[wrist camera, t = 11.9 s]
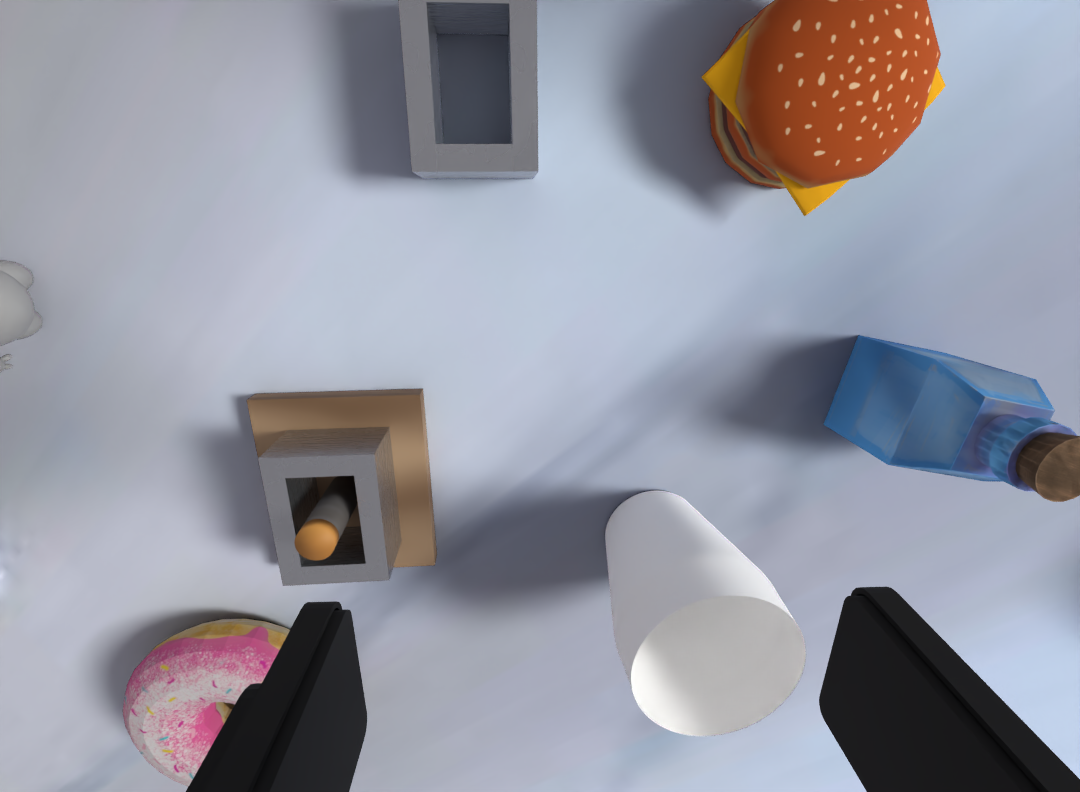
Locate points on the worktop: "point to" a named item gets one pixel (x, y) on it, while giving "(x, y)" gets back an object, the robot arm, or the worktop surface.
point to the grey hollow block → (427, 10)
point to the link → (296, 496)
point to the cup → (696, 620)
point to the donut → (195, 690)
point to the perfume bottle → (954, 419)
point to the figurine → (16, 306)
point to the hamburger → (822, 91)
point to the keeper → (339, 492)
